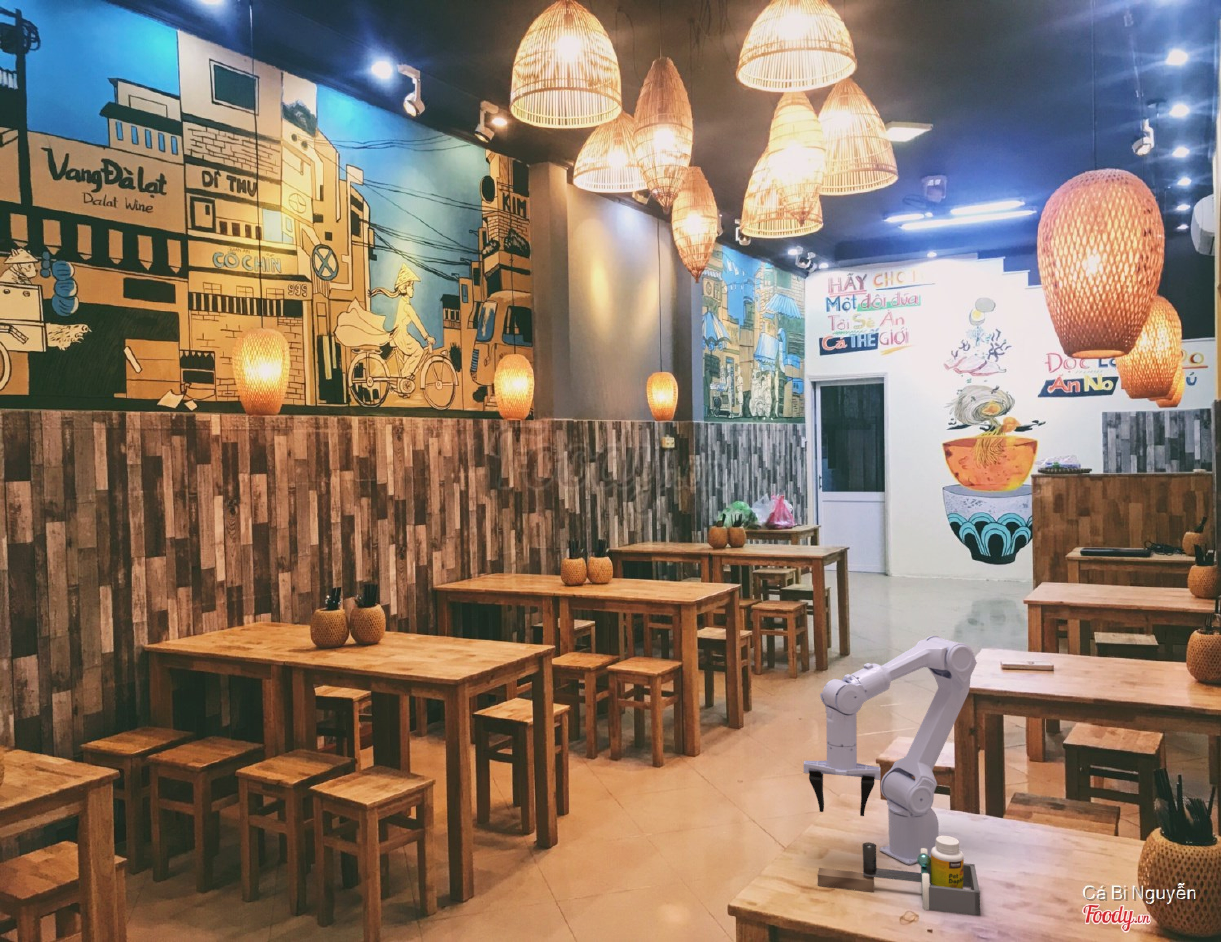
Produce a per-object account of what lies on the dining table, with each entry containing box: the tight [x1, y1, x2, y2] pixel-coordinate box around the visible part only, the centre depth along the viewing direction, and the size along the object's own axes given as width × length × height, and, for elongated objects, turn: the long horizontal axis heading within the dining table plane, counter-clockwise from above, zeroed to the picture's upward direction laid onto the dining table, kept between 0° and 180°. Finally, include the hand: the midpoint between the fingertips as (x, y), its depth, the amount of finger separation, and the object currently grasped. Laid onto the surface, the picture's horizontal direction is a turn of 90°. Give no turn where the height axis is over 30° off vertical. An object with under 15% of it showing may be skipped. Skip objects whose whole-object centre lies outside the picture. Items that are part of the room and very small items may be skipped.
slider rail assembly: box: [862, 841, 931, 901], centre depth 166 cm, size 12×7×8 cm, turn 72°
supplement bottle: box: [930, 835, 965, 889], centre depth 164 cm, size 6×6×10 cm
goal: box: [921, 848, 981, 917], centre depth 164 cm, size 9×12×6 cm
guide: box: [817, 867, 875, 893], centre depth 169 cm, size 10×3×2 cm, turn 72°
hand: (841, 812), depth 178 cm, fingers open, 7 cm apart
